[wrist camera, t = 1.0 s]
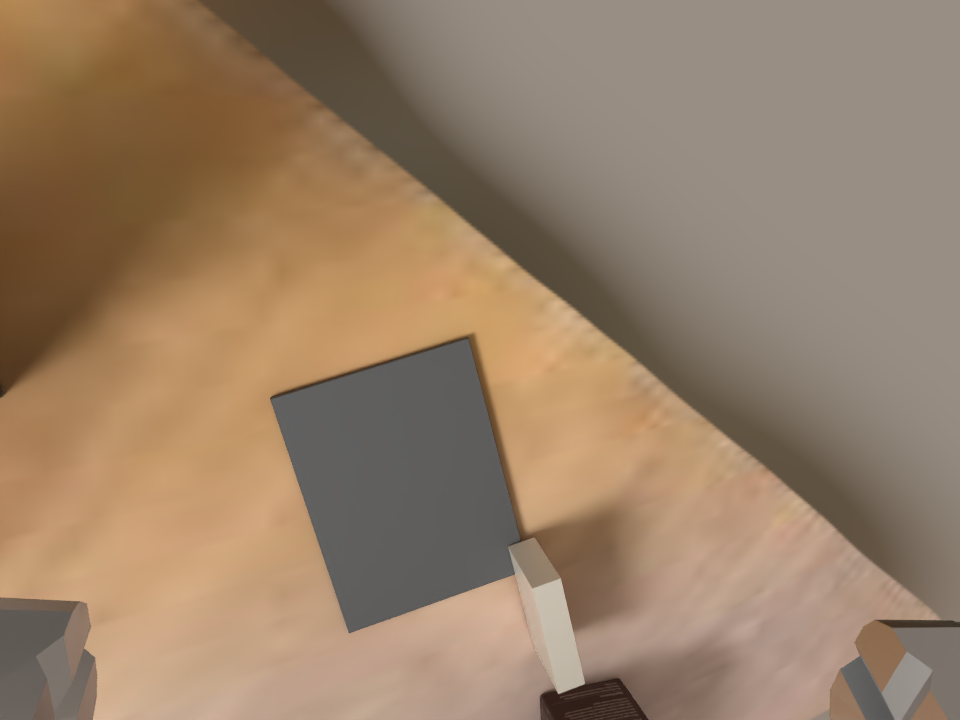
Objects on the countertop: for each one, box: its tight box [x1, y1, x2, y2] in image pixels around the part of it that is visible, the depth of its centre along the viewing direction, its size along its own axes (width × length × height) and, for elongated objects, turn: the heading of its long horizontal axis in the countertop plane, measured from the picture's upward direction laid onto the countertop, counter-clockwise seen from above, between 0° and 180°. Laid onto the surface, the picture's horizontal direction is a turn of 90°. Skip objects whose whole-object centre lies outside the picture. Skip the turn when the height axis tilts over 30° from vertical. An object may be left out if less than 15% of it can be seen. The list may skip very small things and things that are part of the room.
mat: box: [270, 337, 521, 633], centre depth 55 cm, size 16×12×1 cm
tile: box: [508, 537, 585, 694], centre depth 56 cm, size 8×2×5 cm, turn 14°
